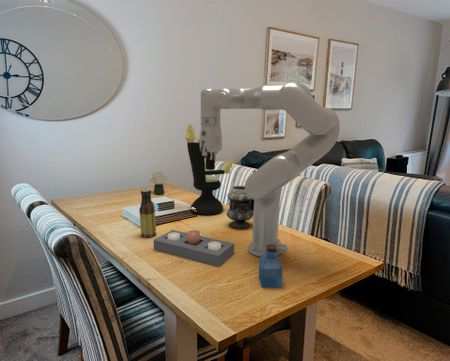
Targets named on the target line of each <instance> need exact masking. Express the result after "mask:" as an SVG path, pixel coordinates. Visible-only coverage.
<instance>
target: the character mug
mask: <svg viewBox="0 0 450 361" xmlns="http://www.w3.org/2000/svg"><path fill="white" fill-rule="evenodd" d="M151 173H152V176H149V182H150V183H153V184H154V185H153V194H155V195H162V194H164V193H165V188H164V184H165V181H168V175H167V174H165V172H163V171H155V172H151Z"/></svg>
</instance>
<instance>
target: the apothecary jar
mask: <svg viewBox="0 0 450 361" xmlns="http://www.w3.org/2000/svg"><path fill="white" fill-rule="evenodd" d="M230 188H231V189H230V191H229V192H228V193H227V196H226V197H227V199H228V200H229V207H228V209H227V210H226V216H227V218H228V219H230V220H232V221H231V222H230V223H229V224H228V226H229V227H230V228H231V229H235V230H246V229H249V228H250V227H251V223H249V222H248V221H250V220H251V219H253V210H252V206H251V205H252V200H253V199H251V198H250V197H249V196H248V195H247V194H246V192H245V185H239V184H238V185H232V186H231V187H230Z"/></svg>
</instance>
